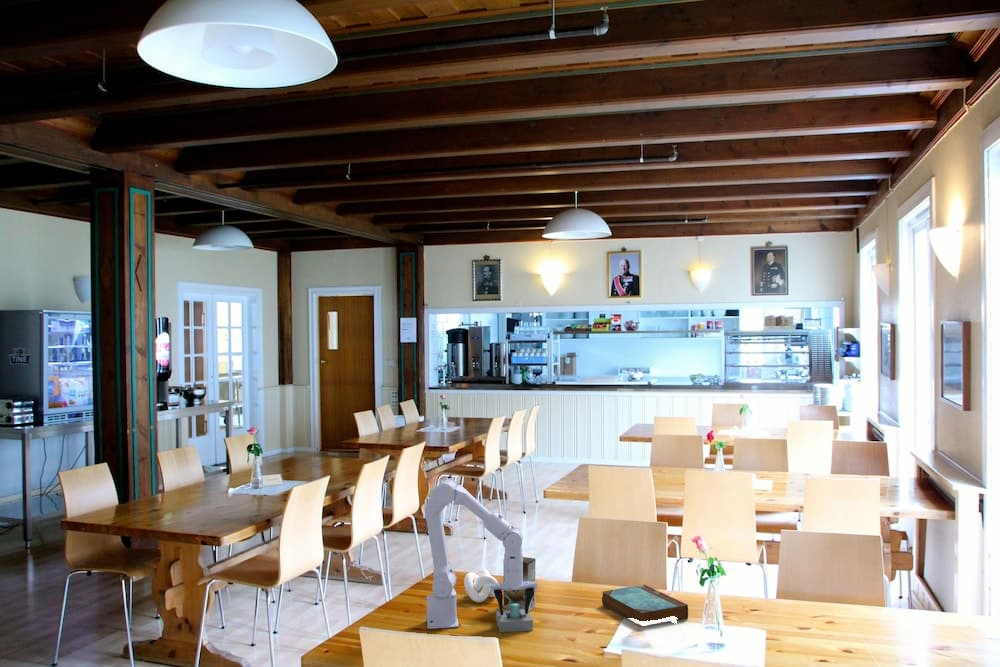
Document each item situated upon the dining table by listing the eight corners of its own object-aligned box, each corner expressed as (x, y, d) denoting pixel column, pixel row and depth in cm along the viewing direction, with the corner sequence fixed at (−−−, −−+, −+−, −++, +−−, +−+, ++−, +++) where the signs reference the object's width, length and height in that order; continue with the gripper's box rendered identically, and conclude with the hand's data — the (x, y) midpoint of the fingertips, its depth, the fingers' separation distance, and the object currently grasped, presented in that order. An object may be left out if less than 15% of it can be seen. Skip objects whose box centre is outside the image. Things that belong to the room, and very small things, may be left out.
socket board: (499, 632, 234) (499, 622, 234) (496, 620, 244) (496, 610, 244) (532, 630, 236) (532, 620, 236) (527, 618, 245) (527, 609, 245)
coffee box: (502, 608, 255) (502, 559, 255) (511, 602, 261) (511, 554, 261) (528, 613, 251) (527, 562, 251) (536, 606, 256) (535, 557, 257)
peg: (510, 626, 238) (510, 606, 238) (509, 622, 241) (509, 603, 241) (519, 626, 238) (519, 606, 238) (519, 622, 241) (519, 603, 241)
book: (688, 620, 244) (688, 604, 244) (641, 629, 236) (641, 613, 236) (645, 598, 264) (645, 584, 264) (601, 606, 257) (600, 591, 257)
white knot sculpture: (458, 595, 270) (458, 569, 270) (492, 591, 273) (491, 565, 274) (467, 605, 259) (466, 578, 259) (501, 601, 263) (501, 574, 263)
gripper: (491, 574, 235) (491, 619, 235) (538, 571, 237) (539, 616, 237) (488, 567, 242) (489, 611, 242) (535, 565, 244) (535, 608, 244)
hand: (514, 613), depth 240 cm, fingers open, 7 cm apart
